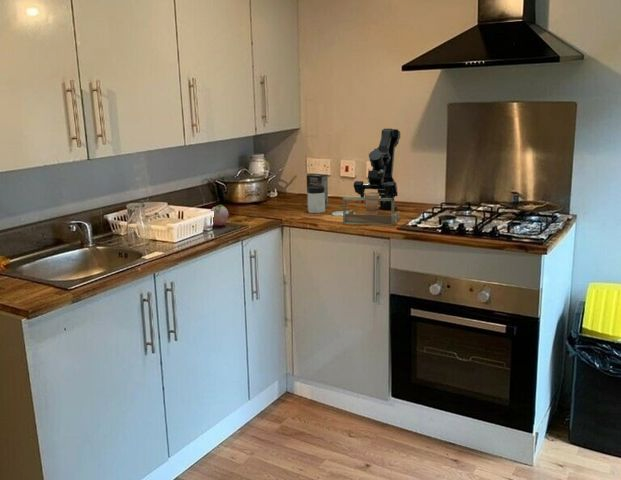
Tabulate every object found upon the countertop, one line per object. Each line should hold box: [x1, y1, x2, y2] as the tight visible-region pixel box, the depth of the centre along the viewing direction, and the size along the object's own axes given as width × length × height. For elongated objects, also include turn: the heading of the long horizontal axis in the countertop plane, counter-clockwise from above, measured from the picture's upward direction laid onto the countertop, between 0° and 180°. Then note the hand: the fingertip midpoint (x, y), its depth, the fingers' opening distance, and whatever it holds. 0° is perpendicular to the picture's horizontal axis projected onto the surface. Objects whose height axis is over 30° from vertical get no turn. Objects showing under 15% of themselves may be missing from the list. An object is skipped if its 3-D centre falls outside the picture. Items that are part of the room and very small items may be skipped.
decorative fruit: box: [210, 204, 229, 227], centre depth 278 cm, size 9×8×10 cm
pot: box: [364, 192, 380, 215], centre depth 277 cm, size 6×6×12 cm
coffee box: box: [306, 173, 329, 208], centre depth 318 cm, size 9×6×16 cm
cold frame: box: [342, 196, 401, 227], centre depth 277 cm, size 16×22×12 cm
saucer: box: [331, 210, 356, 217], centre depth 297 cm, size 11×11×1 cm
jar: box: [306, 186, 326, 214], centre depth 305 cm, size 9×8×12 cm
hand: (372, 202), depth 277 cm, fingers open, 9 cm apart
